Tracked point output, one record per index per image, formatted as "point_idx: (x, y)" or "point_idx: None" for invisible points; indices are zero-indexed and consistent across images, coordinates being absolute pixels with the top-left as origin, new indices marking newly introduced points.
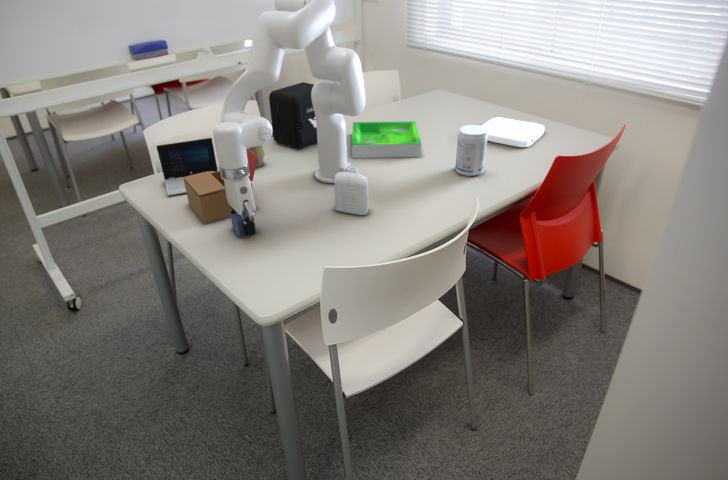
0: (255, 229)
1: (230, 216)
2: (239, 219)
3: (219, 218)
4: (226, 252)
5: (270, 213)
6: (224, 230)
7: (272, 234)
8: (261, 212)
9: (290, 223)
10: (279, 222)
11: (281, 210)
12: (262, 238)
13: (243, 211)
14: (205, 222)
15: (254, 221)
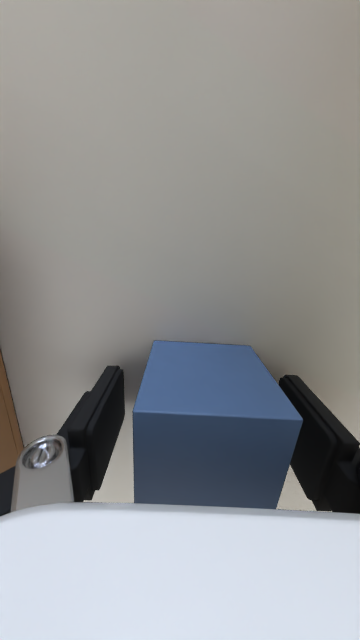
0: (256, 356)
1: (5, 376)
2: (252, 507)
3: (12, 431)
4: (300, 492)
5: (76, 144)
6: (131, 442)
7: (337, 284)
8: (30, 198)
9: (319, 86)
10: (244, 160)
11: (70, 15)
12: (327, 347)
13: (145, 443)
14: None
15: (280, 388)
